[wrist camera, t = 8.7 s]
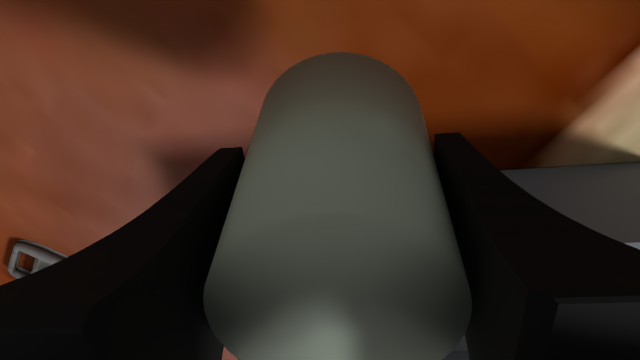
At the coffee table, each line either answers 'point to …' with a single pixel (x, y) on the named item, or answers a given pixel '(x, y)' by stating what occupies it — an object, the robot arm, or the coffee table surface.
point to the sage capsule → (338, 226)
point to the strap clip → (38, 251)
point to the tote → (584, 202)
